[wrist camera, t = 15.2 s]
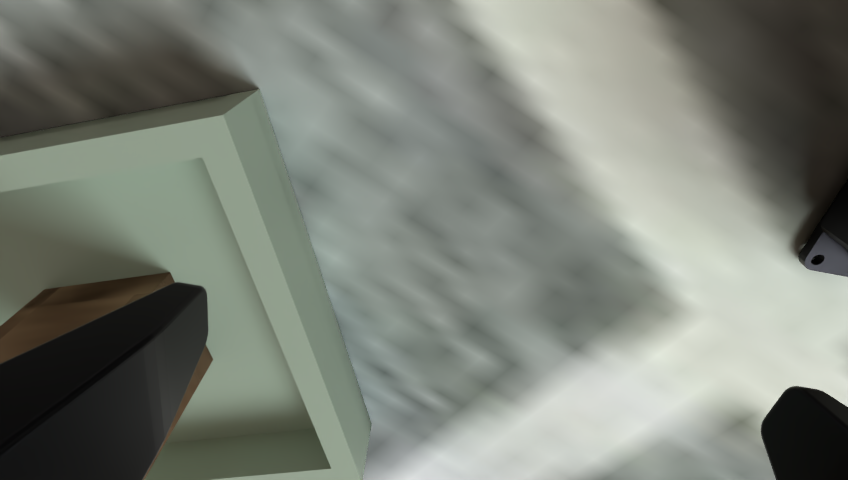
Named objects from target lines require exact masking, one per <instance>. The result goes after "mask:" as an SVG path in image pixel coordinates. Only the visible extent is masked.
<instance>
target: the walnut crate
mask: <svg viewBox="0 0 848 480" xmlns="http://www.w3.org/2000/svg"><path fill="white" fill-rule="evenodd" d="M172 283H175V281H174V279H173V277H172V275H171V273H170V272H167V273H160V274H153V275H145V276H138V277H131V278H123V279H116V280H109V281H101V282H94V283H87V284H79V285H72V286H65V287H57V288H50V289H44V290H43V291H42V292H41V293H39V294H38V295H37V296H36V297H35V298H33V299H32V300H31V301H30V302H29V303H27V304H26V305H25V306H24V307H23V308H21V309H20V310H19V311H18V312H17V313H15V314H14V315H13V316H12V317H11V318H9V319H8V320H7V321H6V322H5V323H3V324H2V325H1V326H0V363H2V362H4V361H7V360H9V359H11V358H13V357H15V356H17V355H19V354H22V353H24V352H26V351H28V350H30V349H32V348H34V347H37V346H39V345H41V344H43V343H45V342H47V341H49V340H52V339H54V338H56V337H58V336H60V335H62V334H64V333H67V332H69V331H71V330H73V329H75V328H77V327H79V326H82V325H84V324H86V323H88V322H90V321H92V320H94V319H97V318H99V317H101V316H103V315H105V314H107V313H110V312H112V311H114V310H116V309H118V308H120V307H122V306H125V305H127V304H129V303H131V302H133V301H135V300H137V299H140V298H142V297H144V296H146V295H148V294H150V293H152V292H155V291H157V290H159V289H161V288H163V287H165V286H167V285H170V284H172ZM212 361H213V358H212V356H211V354H210V352H209V350H208V348H207V346H206V345H205V347H204V350H203V352H202V354H201V357H200V359H199V361H198V364H197V366H196V368H195V371H194V373H193V375H192V378H191V380H190V383H189V385H188V387H187V390H186V392H185V394H184V397H183V399H182V401H181V404H180V406H179V408H178V411H177V413H176V415H175V418H174V420H173V422H172V425H171V427H170V429H169V431H168V434H167V436H166V438H165V440H164V442H163V444H162V446H161V448H160V450H159V451H158V453H157V455H156V457H155V459H154V461H153V462H152V464H151V466H150V468H149V469H148V471H147V473H146V475H145V476H144V478H143V480H145V478H146V476H147V474H148V473H149V471H150V469H151V467H152V466H153V464H154V462H155V460H156V459H157V457H158V455H159V453H160V452H161V450H162V448H163V446H164V445H165V443H166V441H167V439H168V438H169V436H170V434H171V432H172V431H173V429H174V427H175V426H176V424H177V422H178V420H179V419H180V417H181V415H182V413H183V412H184V410H185V408H186V406H187V405H188V403H189V401H190V399H191V398H192V396H193V394H194V392H195V391H196V389H197V387H198V385H199V384H200V382H201V380H202V378H203V377H204V375H205V373H206V371H207V370H208V368H209V366H210V365H211V363H212Z"/></svg>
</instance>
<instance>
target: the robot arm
mask: <svg viewBox="0 0 848 480" xmlns="http://www.w3.org/2000/svg"><path fill="white" fill-rule="evenodd" d="M816 255H818V256H817V257H816V258H815V259H813V260H812V258H813V257H814V256H816ZM799 261H800V262H801V264H803V265H804V266H805V267H806V268H807V269H810V270H814V271H819V272H824V273H830V274H835V275H841V276H846V277H848V180H847V181H846V183H845V184H844V186H843V187H842V189H841V190H840V192H839V194H838V195H837V197H836V198H835V200H834V201H833V203H832V204H831V206H830V208H829V209H828V211H827V212H826V214H825V215H824V217H823V218H822V220H821V222H820V223H819V225H818V226H817V228H816V229H815V231H814V232H813V234H812V235H811V237H810V239H809V240H808V242H807V243H806V245H805V246H804V248H803V249H802V251H801V253H800V255H799ZM207 337H208V302H207V292H206V289H205V288H204V287H202V286H200V285H194V284H188V283H182V282H175V283H172V284H170V285H167V286H165V287H163V288H161V289H159V290H157V291H155V292H152V293H150V294H148V295H146V296H144V297H142V298H140V299H137V300H135V301H133V302H131V303H129V304H127V305H125V306H122V307H120V308H118V309H116V310H114V311H112V312H110V313H107V314H105V315H103V316H101V317H99V318H97V319H94V320H92V321H90V322H88V323H86V324H84V325H82V326H79V327H77V328H75V329H73V330H71V331H69V332H67V333H64V334H62V335H60V336H58V337H56V338H54V339H52V340H49V341H47V342H45V343H43V344H41V345H39V346H37V347H34V348H32V349H30V350H28V351H26V352H24V353H22V354H19V355H17V356H15V357H13V358H11V359H9V360H7V361H4V362H2V363H0V480H143V478H144V476H145V475H146V473H147V471H148V469H149V468H150V466H151V464H152V462H153V461H154V459H155V457H156V455H157V453H158V451H159V450H160V448H161V446H162V444H163V442H164V440H165V438H166V436H167V434H168V431H169V429H170V427H171V425H172V422H173V420H174V418H175V415H176V413H177V411H178V408H179V406H180V404H181V401H182V399H183V397H184V394H185V392H186V390H187V387H188V385H189V383H190V380H191V378H192V375H193V373H194V371H195V368H196V366H197V364H198V361H199V359H200V357H201V354H202V352H203V350H204V347H205V345H206V341H207ZM761 436H762V439H763V442H764V445H765V448H766V451H767V454H768V457H769V460H770V463H771V466H772V469H773V472H774V475H775V478H776V480H848V407H847V406H845V405H843V404H842V403H840V402H839V401H837V400H836V399H834V398H833V397H831V396H829V395H828V394H826V393H825V392H823V391H820V390H817V389H811V388H805V387H799V386H793V387H790V388H788V389H786V390H785V391H784V393H783V394H782V395H781V397H780V398H779V399H778V401H777V402H776V403H775V405H774V406H773V407H772V409H771V410H770V411H769V413H768V414H767V415H766V417H765V418H764V420H763V422H762V425H761Z"/></svg>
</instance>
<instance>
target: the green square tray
mask: <svg viewBox="0 0 848 480" xmlns="http://www.w3.org/2000/svg"><path fill="white" fill-rule="evenodd" d="M167 272H170V273H171V275H172V277H173V279H174V281H175V282H182V283H188V284H194V285H200V286H202V287H204V288H205V289H206V292H207V302H208V337H207V341H206V346H207V348H208V350H209V352H210V354H211V356H212V358H213V361H212V363H211V365H210V366H209V368H208V370H207V371H206V373H205V375H204V377H203V378H202V380H201V382H200V384H199V385H198V387H197V389H196V391H195V392H194V394H193V396H192V398H191V399H190V401H189V403H188V405H187V406H186V408H185V410H184V412H183V413H182V415H181V417H180V419H179V420H178V422H177V424H176V426H175V427H174V429H173V431H172V432H171V434H170V436H169V438H168V439H167V441H166V443H165V445H164V446H163V448H162V450H161V452H160V453H159V455H158V457H157V459H156V460H155V462H154V464H153V466H152V467H151V469H150V471H149V473H148V474H147V476H146V478H145V480H363V474H364V468H365V462H366V455H367V449H368V443H369V436H370V430H371V421H370V418H369V415H368V412H367V409H366V406H365V403H364V400H363V397H362V394H361V391H360V388H359V385H358V382H357V379H356V376H355V373H354V370H353V367H352V364H351V361H350V358H349V355H348V352H347V349H346V346H345V343H344V340H343V337H342V335H341V332H340V329H339V326H338V323H337V320H336V317H335V314H334V311H333V308H332V305H331V302H330V299H329V296H328V293H327V290H326V287H325V284H324V281H323V278H322V275H321V272H320V269H319V266H318V263H317V260H316V257H315V254H314V251H313V248H312V245H311V242H310V239H309V236H308V233H307V230H306V227H305V224H304V221H303V218H302V215H301V212H300V209H299V206H298V203H297V200H296V197H295V194H294V191H293V188H292V185H291V182H290V179H289V176H288V173H287V170H286V167H285V164H284V161H283V159H282V156H281V153H280V150H279V147H278V144H277V141H276V138H275V135H274V132H273V129H272V126H271V123H270V120H269V117H268V114H267V111H266V108H265V105H264V102H263V99H262V96H261V93H260V90H259V89H257V90H252V91H246V92H241V93H236V94H230V95H225V96H220V97H214V98H209V99H204V100H198V101H193V102H188V103H182V104H177V105H172V106H166V107H161V108H156V109H150V110H145V111H140V112H134V113H129V114H124V115H118V116H113V117H108V118H102V119H97V120H92V121H86V122H81V123H76V124H70V125H65V126H60V127H54V128H49V129H44V130H38V131H33V132H28V133H22V134H17V135H12V136H6V137H1V138H0V326H1V325H2V324H3V323H5V322H6V321H7V320H8V319H9V318H11V317H12V316H13V315H14V314H15V313H17V312H18V311H19V310H20V309H21V308H23V307H24V306H25V305H26V304H27V303H29V302H30V301H31V300H32V299H33V298H35V297H36V296H37V295H38V294H39V293H41V292H42V291H43V290H44V289H50V288H57V287H65V286H72V285H79V284H87V283H94V282H101V281H109V280H116V279H123V278H131V277H138V276H145V275H153V274H160V273H167Z"/></svg>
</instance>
